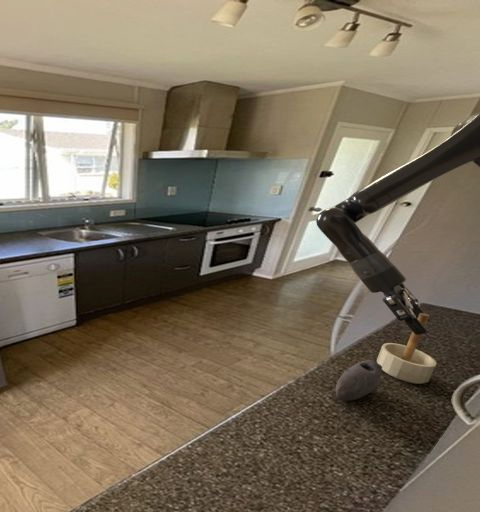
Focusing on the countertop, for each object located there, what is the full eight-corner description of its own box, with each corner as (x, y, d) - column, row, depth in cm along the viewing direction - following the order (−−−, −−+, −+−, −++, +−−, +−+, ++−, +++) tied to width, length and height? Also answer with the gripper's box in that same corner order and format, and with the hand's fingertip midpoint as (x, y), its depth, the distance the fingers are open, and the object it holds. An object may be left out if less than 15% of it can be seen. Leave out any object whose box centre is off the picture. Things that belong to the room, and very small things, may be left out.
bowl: (421, 369, 76) (429, 351, 74) (433, 391, 69) (442, 372, 67) (373, 355, 81) (379, 338, 80) (379, 374, 74) (386, 356, 72)
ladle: (397, 365, 76) (418, 311, 71) (408, 370, 74) (431, 315, 69) (393, 371, 74) (415, 316, 69) (405, 376, 72) (429, 320, 67)
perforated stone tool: (347, 411, 62) (356, 386, 60) (321, 394, 67) (329, 370, 65) (383, 391, 68) (392, 367, 66) (356, 377, 73) (365, 354, 71)
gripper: (388, 270, 68) (443, 333, 63) (396, 258, 77) (445, 313, 72) (353, 283, 74) (401, 342, 69) (364, 271, 82) (408, 323, 77)
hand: (423, 327), depth 70 cm, fingers open, 8 cm apart
